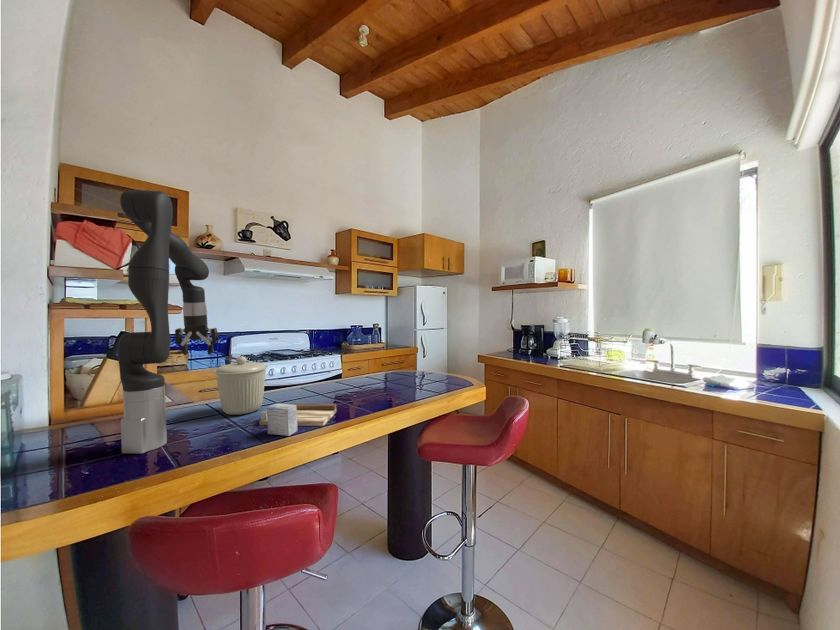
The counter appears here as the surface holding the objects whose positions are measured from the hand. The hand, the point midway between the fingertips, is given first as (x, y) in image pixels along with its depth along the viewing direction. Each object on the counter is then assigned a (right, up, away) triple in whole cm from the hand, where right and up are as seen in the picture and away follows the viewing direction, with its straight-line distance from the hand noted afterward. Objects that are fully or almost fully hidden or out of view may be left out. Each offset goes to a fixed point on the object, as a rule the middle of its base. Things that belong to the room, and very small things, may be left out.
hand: (198, 354), depth 129 cm
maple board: (+45, -21, -12) cm, 51 cm away
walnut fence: (+45, -20, -7) cm, 50 cm away
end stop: (+35, -20, -13) cm, 42 cm away
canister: (+19, -22, -3) cm, 29 cm away
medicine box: (+44, -22, -25) cm, 55 cm away
